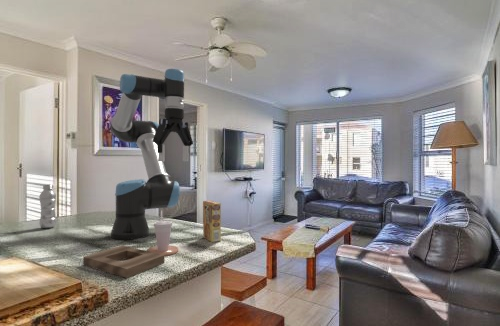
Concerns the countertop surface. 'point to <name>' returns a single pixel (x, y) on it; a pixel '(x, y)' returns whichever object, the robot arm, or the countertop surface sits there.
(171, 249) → the glossy peach dome
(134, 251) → the frame
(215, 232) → the candy box
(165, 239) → the smoothie
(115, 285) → the countertop surface
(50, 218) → the plastic bottle
